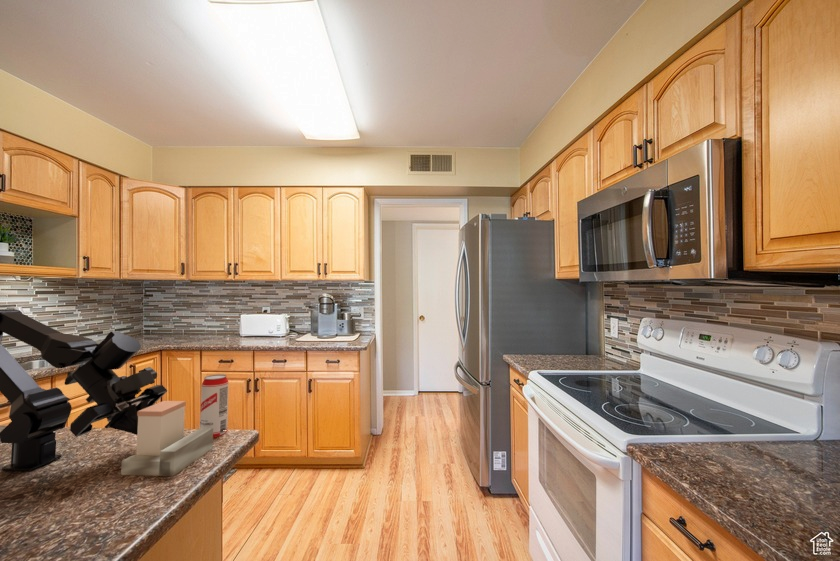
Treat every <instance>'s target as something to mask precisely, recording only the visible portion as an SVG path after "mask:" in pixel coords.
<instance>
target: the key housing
mask: <svg viewBox="0 0 840 561" xmlns="http://www.w3.org/2000/svg"><path fill="white" fill-rule="evenodd" d="M213 439H214V437H213V428H200V427H199V428H198V429H197V430H195V431H193V432H191V433H190V434H187V435H184V438H182V439H181V440H179V441H177V442H175V443H174V444H172V445H170V446H169V447H167V448H165V449H163V450H162V451H160V456H142V455H135V454H134V455H129V456H128V457H126V458H124V459H122V460H121V467H120V468H121V471H120V475H121V476H159V477H161V476H165V477H166V476H171V477H172V476H173V477H174V476H175V475H178V473H180V472H181V471H183V470H184V469H186V468H187V467H188V466H190V465H191V464H192V463H194V462H196V461H197V460H199V459H200V458H201V457H202V456H204V455H205V454H207V453H208V452H210V451H211V450H212V449H213V443H214V440H213Z"/></svg>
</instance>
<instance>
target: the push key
mask: <svg viewBox="0 0 840 561" xmlns="http://www.w3.org/2000/svg"><path fill="white" fill-rule="evenodd" d="M186 403H187V401H186V400H163V401H160V402H156V403H155V404H154V405H152V406H150V407H147V408H145V409H142V410H140V411H138V412H137V416H138V431H137V437H136V455H142V456H160V451H162V450H163V449H165V448H167V447H169V446H170V445H172V444H174V443H175V442H177V441H179V440H181V439H182V438H184V436H185V413H186Z"/></svg>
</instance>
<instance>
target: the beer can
mask: <svg viewBox="0 0 840 561" xmlns="http://www.w3.org/2000/svg"><path fill="white" fill-rule="evenodd" d="M203 378H204V380H203V381H202V383H201V387H200V389H201V390H200V392H201V393H200V411H199V412H200V413H199V414H200V415H199V416H200V418H199V419H200V420H199V429H200V428H213V438H217V437H221V436H223V435H225V434H227V432H228V422H229V420H228V419H229V418H228V417H229V416H228V415H229V389H230V388H229V384H230V383H229V380H228V378H227V375H226V374H220V373H219V374H211V375H207V376H204V377H203ZM223 430H227V431H223Z"/></svg>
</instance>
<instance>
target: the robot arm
mask: <svg viewBox="0 0 840 561" xmlns="http://www.w3.org/2000/svg"><path fill="white" fill-rule="evenodd" d="M4 334H6V335H8V336H10V337H13V338H15V339H16V340H18V341H20V342H23V343H24V344H26V345H29V346H31V347H32V348H34V349H36V350H38V351H39V352H40V356H41V358H42V359H43V360H44V361H46V363H48V364H49V365H51V366H52V367H53V368H57V369H65V368H68V367H70V368H71V367H74V366H77V368H75V369H74V370H71V371H67V373H66V374H67V376H66V378H65V379H64V385H65V386H69V385H72V384H76V383H77V384H78V385H79V386H80V387H81V388H82V390H84V391H85V392H86V394H87V398H86V399H85V401H86V402H87V403H88V404H90V403H95V405H92V406H89V407H86V408H85V409H84V410H83V411H82V412H81V413H80V414H79V415H78V416H77V417H76V418H74V420H73V421H72V422H71V423H70V424H69V426H70V428H69V430H70V432H71V433H72V434H73V436H75V438H78V437H80V436H83V435H86V434H87V433H90V432H91V431H92V430H93V423H94V424H95V423H97V422H99V421H101V420H105V419H106V421H107V422H108V423H106V425H105V426H104V428H105V429H107V430H108V429H114V430H116V431H117V430H118V431H122V432H126V433H131V434H134V435H137V431H138V416H137V412H138V411H140V410H142V409H145V408H147V407H150V406H152V405H155V404H157V403H158V401H159V400H160V399H161V398H163V396H164V395H165V394H166V393H167V392H168V390H167V388H166V387H165V386H164V385H163V384H156V385H153V384H155V383H156V381H155V380H156V379H157V378H158V373H157V371H156V370H155V369H154V368H152V367H151V366H148V367H145V368H143V369H140V370H139V371H138V372H137V373H134V374H133V373H132V374H131V375H129V376H125V375H123V376H122V375H121V376H118V374H117V373H116V372H115V371H114V370H119V369H121V368H122V367H123V366H125V365H126V363H128V362H129V360H131V359H132V357H134V356H135V355H136V354H137V353H138V352H140V350H141V348H142V346H141V345H142V344H141V343H140V342H139V340H138V339H136V338H134V337H133V336H130V335H128V334H123V333H122V332H121V331H120V330H115V331H110V332H109V333H107V335H106V336H105V338H104V339H103V340H102V341H101V342H100V343H97V342H96V341H95V340H94V339H92V338H90V337H84V336H81V335H78V334H77V335H76V334H69V333H68V334H67V333H65V332H62V331H61V332H60V330H56V329H55V328H53V327H50V326H49V325H46V324H44V323H43V322H40V321H38V320H36V319H34V318H32V317H30V316H28V315H26V314H23V312H22V311H21V310H19V309H15V308H0V393H1V394H2V395H3V396H4V397H5V399H7V401H8V402H9V403H10V409H9V415H8V417H9V419H10V422H9V423H8V424H7V425H6V426H5V427H4V428H3V429H2V430H1V431H0V443H1V444H11V455H10V464H7V465H5V466H2V467H1V471H22V472H23V471H25V472H26V471H27V472H29V471H33V470H35V469H37V468H40V467H42V466H44V465H46V464H49V463H51V462H53V461H55V460H58V459H61V458H62V454H56V452H57V439H56V435H57V434H56V431H58V430H63V429H65V427H66V424H67V422H68V420H69V418H70V415H71V412H72V409H73V407H72V404H71V403H70V400H71V399H70V398H69V397H67V396H66V395H65V394H64V393H63V391H62V390H61V388H59V387H52V388H49V389H45V388H42V387H41V386H40V385H39V384H38V383H37V382H36V381H35V380H34V379H33V377H31V375H30V374H29V373H28V372H27V371H26V370H25V369H24V368H23V366H22V365H21V364H20V363H19V362H18V361H17V360H16V358H15V357H14V356H12V354H11V353H9V351H8V350H7V349H6V348H5V346H4V345H2V340H3V335H4ZM149 385H153V386H150V387H147V388H145V389H144V390H143V391H142V388H144V387H146V386H149ZM137 395H138V396H137ZM136 396H137V397H136Z"/></svg>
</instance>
